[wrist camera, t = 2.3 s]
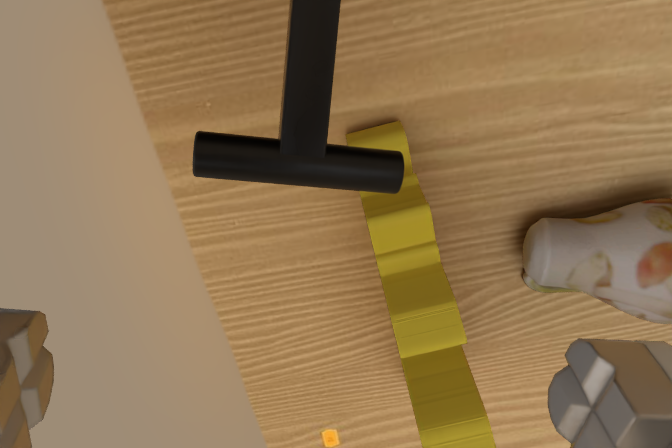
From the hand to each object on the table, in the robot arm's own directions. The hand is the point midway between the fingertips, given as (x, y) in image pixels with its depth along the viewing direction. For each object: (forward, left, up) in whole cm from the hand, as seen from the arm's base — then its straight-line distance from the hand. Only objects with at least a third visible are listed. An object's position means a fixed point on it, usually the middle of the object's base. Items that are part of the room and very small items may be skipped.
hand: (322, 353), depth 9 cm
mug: (+20, -11, -22) cm, 31 cm away
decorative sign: (+9, -15, -22) cm, 28 cm away
